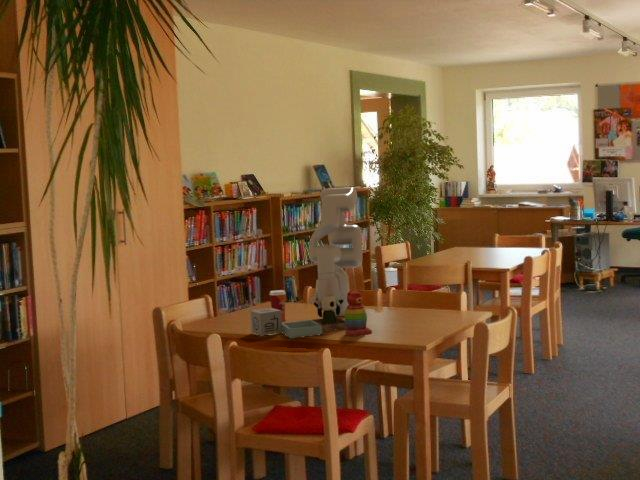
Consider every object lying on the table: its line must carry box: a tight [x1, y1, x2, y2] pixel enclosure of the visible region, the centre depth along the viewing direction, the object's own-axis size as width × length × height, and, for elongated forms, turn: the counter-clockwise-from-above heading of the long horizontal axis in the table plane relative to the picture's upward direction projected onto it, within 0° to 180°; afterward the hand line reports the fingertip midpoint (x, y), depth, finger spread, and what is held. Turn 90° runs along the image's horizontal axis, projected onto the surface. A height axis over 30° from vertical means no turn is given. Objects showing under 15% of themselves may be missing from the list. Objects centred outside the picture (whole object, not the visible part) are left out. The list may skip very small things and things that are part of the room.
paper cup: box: [268, 289, 287, 322], centre depth 408 cm, size 8×8×14 cm
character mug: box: [321, 295, 338, 325], centre depth 387 cm, size 11×7×13 cm, turn 151°
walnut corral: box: [312, 316, 347, 332], centre depth 386 cm, size 13×17×2 cm
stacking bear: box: [344, 290, 373, 337], centre depth 368 cm, size 11×10×18 cm
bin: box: [282, 319, 323, 339], centre depth 375 cm, size 14×16×4 cm
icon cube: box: [250, 307, 283, 337], centre depth 379 cm, size 10×10×10 cm
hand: (329, 315), depth 387 cm, fingers closed on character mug, 7 cm apart
